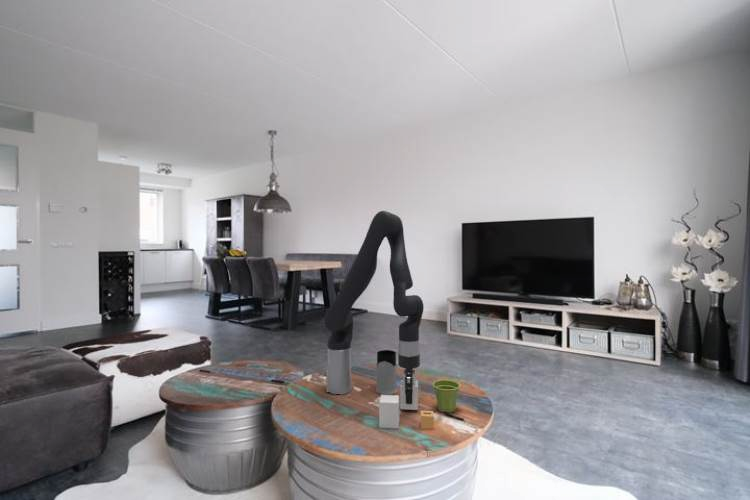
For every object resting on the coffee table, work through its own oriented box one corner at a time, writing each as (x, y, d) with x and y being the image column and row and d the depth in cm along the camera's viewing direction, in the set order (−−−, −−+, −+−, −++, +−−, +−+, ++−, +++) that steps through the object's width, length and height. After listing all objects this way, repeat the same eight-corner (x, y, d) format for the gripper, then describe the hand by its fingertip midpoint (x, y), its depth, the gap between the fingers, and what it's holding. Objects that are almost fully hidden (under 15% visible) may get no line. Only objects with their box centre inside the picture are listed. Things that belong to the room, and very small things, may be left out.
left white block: (379, 427, 118) (379, 402, 118) (381, 418, 124) (381, 394, 124) (398, 428, 117) (398, 403, 117) (399, 419, 123) (399, 395, 123)
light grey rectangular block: (400, 409, 129) (400, 386, 129) (401, 402, 135) (401, 379, 135) (417, 409, 129) (417, 386, 129) (417, 402, 135) (417, 380, 134)
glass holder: (373, 393, 146) (373, 355, 146) (381, 380, 160) (381, 345, 160) (395, 395, 144) (395, 356, 144) (401, 382, 158) (401, 346, 158)
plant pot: (444, 417, 125) (444, 391, 125) (427, 406, 133) (427, 382, 133) (465, 411, 129) (465, 386, 129) (448, 401, 138) (448, 378, 138)
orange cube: (421, 428, 117) (421, 415, 117) (420, 422, 121) (420, 410, 121) (434, 429, 117) (433, 416, 117) (433, 423, 121) (433, 410, 121)
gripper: (399, 346, 139) (399, 391, 139) (397, 358, 125) (397, 408, 125) (419, 347, 138) (419, 392, 139) (419, 358, 124) (420, 409, 124)
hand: (409, 399), depth 132 cm, fingers closed on light grey rectangular block, 6 cm apart
